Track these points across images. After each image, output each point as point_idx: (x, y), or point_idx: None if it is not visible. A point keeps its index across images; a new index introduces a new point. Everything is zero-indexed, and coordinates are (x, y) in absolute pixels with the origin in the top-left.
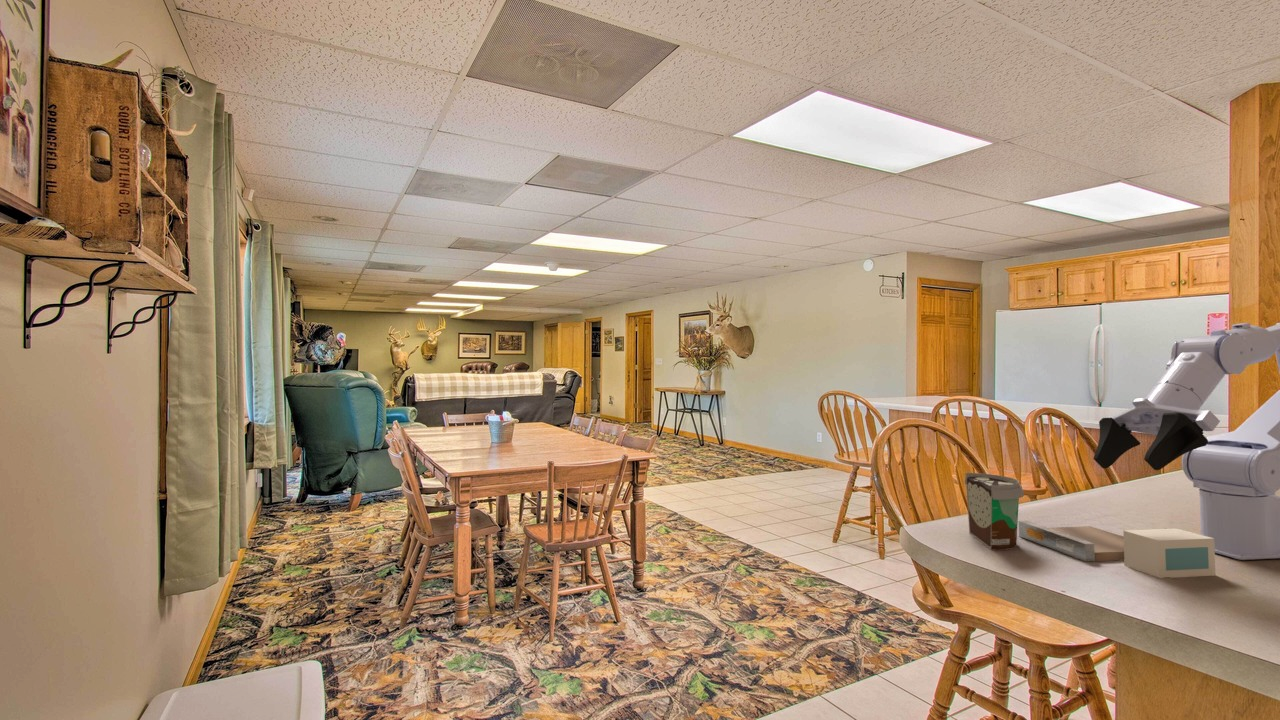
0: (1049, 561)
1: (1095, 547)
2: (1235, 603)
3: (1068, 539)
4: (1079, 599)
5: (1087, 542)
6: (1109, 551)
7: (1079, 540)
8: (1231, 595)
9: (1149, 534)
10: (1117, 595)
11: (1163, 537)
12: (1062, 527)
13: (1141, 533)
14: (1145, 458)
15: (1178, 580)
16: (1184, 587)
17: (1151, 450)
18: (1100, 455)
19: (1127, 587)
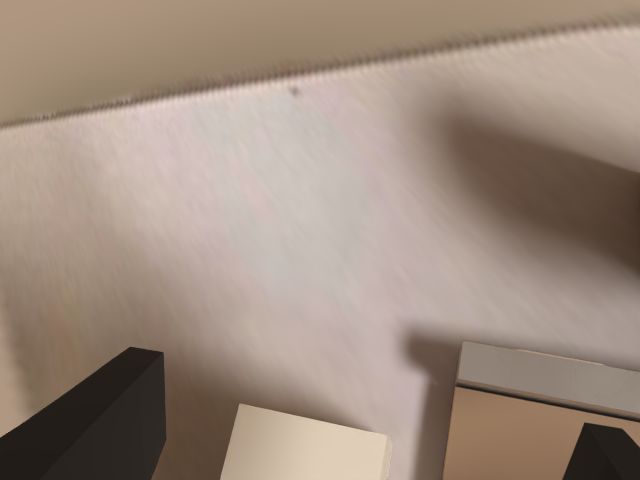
0: (492, 248)
1: (511, 458)
2: None
3: (544, 356)
4: (247, 84)
5: (477, 369)
6: (452, 453)
7: (507, 365)
8: None
9: (306, 470)
10: (230, 178)
11: (257, 473)
12: None
13: (327, 454)
14: (152, 355)
15: None
16: (196, 397)
17: (96, 385)
18: (593, 460)
19: (255, 251)
